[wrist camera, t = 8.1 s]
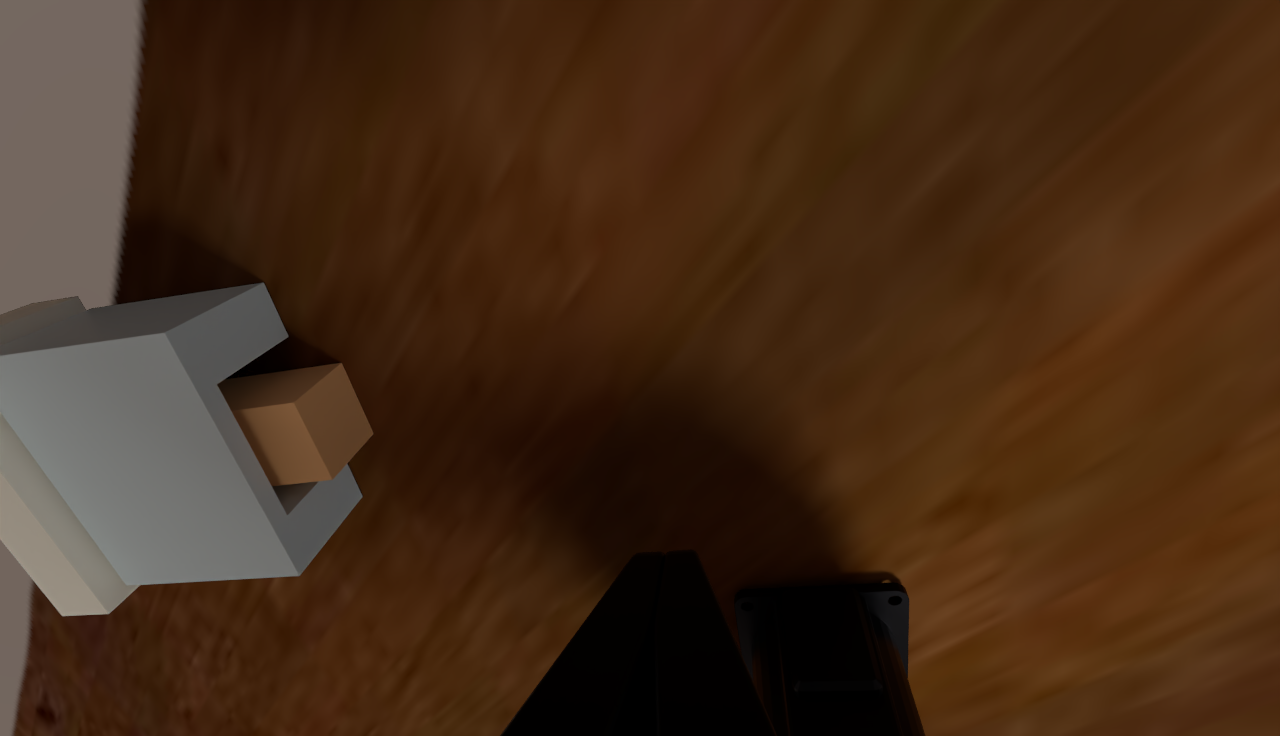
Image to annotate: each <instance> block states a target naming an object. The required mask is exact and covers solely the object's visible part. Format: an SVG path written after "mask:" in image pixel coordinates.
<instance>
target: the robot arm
mask: <svg viewBox="0 0 1280 736" xmlns="http://www.w3.org/2000/svg"><path fill="white" fill-rule="evenodd" d="M891 596H896V597H891ZM744 602H751V603H744ZM734 604H735V613H736V620H737V626H738V633H739V640H740V646H741V652H740V650H739V648H738V645H737V643H736V641H735V639H734V636H733V634H732V632H731V629H730V627H729V625H728V623H727V620H726V618H725V616H724V613H723V611H722V609H721V607H720V604H719V602H718V600H717V597H716V595H715V593H714V591H713V588H712V586H711V584H710V581H709V579H708V577H707V575H706V572H705V570H704V568H703V565H702V563H701V561H700V559H699V556H698V554H697V553H696V551H694V550H677V551H669V552H667V554H666V555H665V554H664V553H662V552H642V553H636V554H635V555H634V556H632V558H631V559H630V560H629V562H628V563H627V564H626V566H625V567H624V569H623V570H622V571H621V573H620V574H619V575H618V577H617V578H616V579H615V581H614V582H613V583H612V585H611V586H610V588H609V589H608V590H607V592H606V593H605V594H604V596H603V597H602V598H601V600H600V601H599V602H598V604H597V605H596V606H595V608H594V609H593V611H592V612H591V613H590V615H589V616H588V617H587V619H586V620H585V621H584V623H583V624H582V625H581V627H580V628H579V630H578V631H577V632H576V634H575V635H574V636H573V638H572V639H571V640H570V642H569V643H568V644H567V646H566V647H565V649H564V650H563V651H562V653H561V654H560V655H559V657H558V658H557V659H556V661H555V662H554V663H553V665H552V666H551V668H550V669H549V670H548V672H547V673H546V674H545V676H544V677H543V678H542V680H541V681H540V682H539V684H538V685H537V687H536V688H535V689H534V691H533V692H532V693H531V695H530V696H529V697H528V699H527V700H526V701H525V703H524V704H523V706H522V707H521V708H520V710H519V711H518V712H517V714H516V715H515V716H514V718H513V719H512V720H511V722H510V723H509V724H508V726H507V727H506V729H505V730H504V731H503V733H502V734H501V735H500V736H925V733H924V730H923V727H922V724H921V720H920V717H919V714H918V711H917V707H916V704H915V701H914V698H913V694H912V691H911V688H910V685H909V682H908V629H909V598H908V595H907V592H906V589H905V588H904V587H903V586H902V585H901V584H898V583H876V584H854V585H832V586H810V587H788V588H766V589H745V590H741V591H739V592H737V593H736V595H735V598H734ZM741 653H742V655H741Z"/></svg>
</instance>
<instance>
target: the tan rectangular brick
mask: <svg viewBox="0 0 1280 736" xmlns="http://www.w3.org/2000/svg"><path fill="white" fill-rule="evenodd" d="M217 385H218V387H219V389H220V391H221V393H222V395H223V397H224V398H225V400H226V402H227V404H228V406H229V408H230V410H231V411H232V413H233V415H234V417H235V419H236V421H237V423H238V425H239V426H240V428H241V430H242V432H243V434H244V436H245V438H246V439H247V441H248V443H249V445H250V447H251V449H252V451H253V452H254V454H255V456H256V458H257V460H258V462H259V464H260V465H261V467H262V469H263V471H264V473H265V475H266V477H267V478H268V480H269V482H270V484H271V486H279V485H289V484H298V483H307V482H317V481H326V480H333V479H334V478H335V477H336V476H337V474H338V473H339V472H340V471H341V470H342V469H343V468H344V467H345V465H346V464H347V463H348V462H349V461H350V460H351V459H352V458H353V456H354V455H355V454H356V453H357V452H358V451H359V450H360V449H361V448H362V446H363V445H364V444H365V443H366V442H367V441H368V440H369V439H370V437H371V436H372V435H373V434H374V433H373V431H372V429H371V427H370V424H369V422H368V420H367V418H366V416H365V413H364V411H363V409H362V407H361V404H360V402H359V400H358V398H357V396H356V393H355V391H354V389H353V387H352V385H351V382H350V380H349V378H348V376H347V374H346V371H345V369H344V367H343V365H342V363H337V364H330V365H323V366H316V367H309V368H302V369H295V370H288V371H281V372H274V373H267V374H260V375H253V376H246V377H239V378H232V379H226V380H223V381H221V382H220V383H218V384H217Z"/></svg>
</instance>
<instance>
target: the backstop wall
mask: <svg viewBox="0 0 1280 736" xmlns="http://www.w3.org/2000/svg"><path fill="white" fill-rule="evenodd" d="M84 311H86V309H85V307H84V306H83V304H82V302H81V301H80V299H79V298H78V296H77V297H70V298H64V299H57V300H51V301H45V302H38V303H32V304H29V305H26V306H24V307H21V308H18V309H15V310H13V311H10V312H7V313H4V314H2V315H0V346H1V345H3V344H6V343H8V342H11V341H13V340H16V339H18V338H21V337H23V336H26V335H28V334H30V333H33V332H35V331H38V330H40V329H43V328H45V327H48V326H50V325H52V324H55V323H57V322H60V321H62V320H65V319H67V318H70V317H72V316H74V315H77V314H79V313H82V312H84ZM0 540H1V541H2V542H3V544H4V545H5V546H6V547H7V548H8V550H9V551H10V552H11V553H12V555H13V556H14V557H15V558H16V559H17V561H18V562H19V563H20V565H21V566H22V567H23V568H24V569H25V570H26V572H27V573H28V574H29V576H30V577H31V578H32V579H33V581H34V582H35V583H36V584H37V585H38V587H39V588H40V589H41V590H42V592H43V593H44V594H45V595H46V597H47V598H48V599H49V600H50V602H51V603H52V604H53V605H54V606H55V608H56V609H57V610H58V611H59V613H60V614H61V615H62V616H75V615H96V614H109V613H111V612H112V611H113V610H114V609H115V608H116V607H117V606H118V605H119V604H120V603H121V602H122V601H123V600H125V599H126V598H127V597H128V596H129V595H130V594H131V593H132V592H133V591H134V590H135V589H136V588H138V587H139V586H140V585H128V586H126V584H125V583H124V582H123V580H122V579H121V577H120V576H119V575H118V573H117V572H116V571H115V569H114V568H113V566H112V565H111V564H110V562H109V561H108V560H107V558H106V557H105V555H104V554H103V553H102V551H101V550H100V549H99V547H98V546H97V544H96V543H95V542H94V540H93V539H92V537H91V536H90V535H89V533H88V532H87V531H86V529H85V528H84V526H83V525H82V524H81V522H80V521H79V520H78V518H77V517H76V515H75V514H74V513H73V511H72V510H71V509H70V507H69V506H68V504H67V503H66V502H65V500H64V499H63V498H62V496H61V495H60V493H59V492H58V491H57V489H56V488H55V487H54V485H53V484H52V482H51V481H50V480H49V478H48V477H47V476H46V474H45V473H44V471H43V470H42V469H41V467H40V466H39V465H38V463H37V462H36V460H35V459H34V458H33V456H32V455H31V453H30V452H29V451H28V449H27V448H26V447H25V445H24V444H23V442H22V441H21V440H20V438H19V437H18V436H17V434H16V433H15V431H14V430H13V429H12V427H11V426H10V425H9V423H8V422H7V420H6V419H5V418H4V416H3V415H2V414H1V412H0Z"/></svg>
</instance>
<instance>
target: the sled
mask: <svg viewBox="0 0 1280 736" xmlns="http://www.w3.org/2000/svg"><path fill="white" fill-rule="evenodd" d="M288 337H289V336H288V334H287V332H286V330H285V327H284V325H283V323H282V321H281V319H280V317H279V314H278V312H277V310H276V308H275V306H274V304H273V302H272V299H271V297H270V295H269V293H268V291H267V289H266V286H265V284H264V282H263V283H257V284H250V285H244V286H237V287H230V288H224V289H217V290H211V291H204V292H198V293H191V294H184V295H178V296H171V297H165V298H158V299H151V300H145V301H138V302H132V303H125V304H118V305H112V306H105V307H99V308H92V309H89V310H87V311H84V312H82V313H79V314H77V315H74V316H72V317H70V318H67V319H65V320H62V321H60V322H57V323H55V324H52V325H50V326H48V327H45V328H43V329H40V330H38V331H35V332H33V333H30V334H28V335H26V336H23V337H21V338H18V339H16V340H13V341H11V342H8V343H6V344H3V345H1V346H0V412H1V414H2V415H3V416H4V418H5V419H6V420H7V422H8V423H9V425H10V426H11V427H12V429H13V430H14V431H15V433H16V434H17V436H18V437H19V438H20V440H21V441H22V442H23V444H24V445H25V447H26V448H27V449H28V451H29V452H30V453H31V455H32V456H33V458H34V459H35V460H36V462H37V463H38V465H39V466H40V467H41V469H42V470H43V471H44V473H45V474H46V476H47V477H48V478H49V480H50V481H51V482H52V484H53V485H54V487H55V488H56V489H57V491H58V492H59V493H60V495H61V496H62V498H63V499H64V500H65V502H66V503H67V504H68V506H69V507H70V509H71V510H72V511H73V513H74V514H75V515H76V517H77V518H78V520H79V521H80V522H81V524H82V525H83V526H84V528H85V529H86V531H87V532H88V533H89V535H90V536H91V537H92V539H93V540H94V542H95V543H96V544H97V546H98V547H99V549H100V550H101V551H102V553H103V554H104V555H105V557H106V558H107V560H108V561H109V562H110V564H111V565H112V566H113V568H114V569H115V571H116V572H117V573H118V575H119V576H120V577H121V579H122V580H123V582H124V583H125V584H126V586H128V585H146V584H163V583H181V582H199V581H217V580H234V579H252V578H270V577H287V576H300V575H301V573H302V572H303V571H304V570H305V568H306V567H307V566H308V565H309V563H310V562H311V561H312V560H313V558H314V557H315V556H316V555H317V553H318V552H319V551H320V550H321V548H322V547H323V546H324V545H325V543H326V542H327V541H328V540H329V538H330V537H331V536H332V534H333V533H334V532H335V531H336V529H337V528H338V527H339V526H340V524H341V523H342V522H343V521H344V519H345V518H346V517H347V516H348V514H349V513H350V512H351V511H352V509H353V508H354V507H355V506H356V504H357V503H358V502H359V501H360V499H361V498H362V497H363V496H362V494H361V492H360V490H359V488H358V485H357V483H356V481H355V479H354V477H353V475H352V472H351V470H350V468H349V466H348V464H346V465H345V467H344V468H343V469H342V470H341V471H340V472H339V473H338V474H337V476H336V477H335V478H334V479H333V480H326V481H317V482H307V483H298V484H289V485H279V486H271V484H270V482H269V480H268V478H267V477H266V475H265V473H264V471H263V469H262V467H261V465H260V464H259V462H258V460H257V458H256V456H255V454H254V452H253V451H252V449H251V447H250V445H249V443H248V441H247V439H246V438H245V436H244V434H243V432H242V430H241V428H240V426H239V425H238V423H237V421H236V419H235V417H234V415H233V413H232V411H231V410H230V408H229V406H228V404H227V402H226V400H225V398H224V397H223V395H222V393H221V391H220V389H219V387H218V385H217V384H218V383H220V382H221V381H223V380H224V379H226V378H227V377H229V376H230V375H232V374H233V373H235V372H236V371H238V370H239V369H241V368H242V367H244V366H245V365H247V364H248V363H250V362H251V361H253V360H254V359H256V358H257V357H259V356H260V355H262V354H263V353H265V352H266V351H268V350H270V349H271V348H273V347H274V346H276V345H277V344H279V343H280V342H282V341H283V340H285V339H286V338H288Z"/></svg>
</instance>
